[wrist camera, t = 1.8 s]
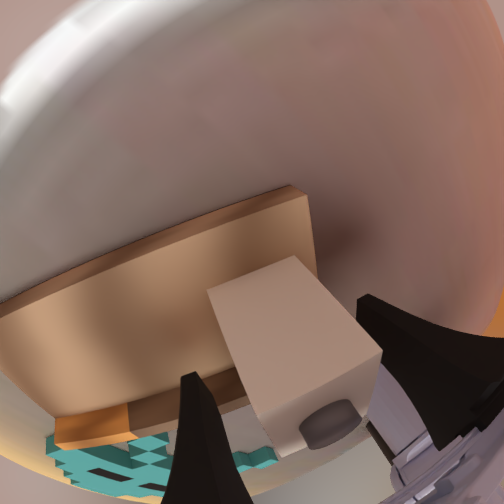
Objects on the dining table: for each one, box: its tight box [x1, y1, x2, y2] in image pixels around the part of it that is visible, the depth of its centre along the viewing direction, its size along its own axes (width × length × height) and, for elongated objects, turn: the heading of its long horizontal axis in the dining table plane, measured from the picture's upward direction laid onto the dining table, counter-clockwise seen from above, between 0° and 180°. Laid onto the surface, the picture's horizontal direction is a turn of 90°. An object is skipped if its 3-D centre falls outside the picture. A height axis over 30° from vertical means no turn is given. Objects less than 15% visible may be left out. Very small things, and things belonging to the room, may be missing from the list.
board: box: [0, 185, 318, 450], centre depth 12 cm, size 18×9×4 cm, turn 103°
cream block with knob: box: [207, 255, 383, 457], centre depth 10 cm, size 4×5×7 cm
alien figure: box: [46, 432, 278, 498], centre depth 20 cm, size 20×2×20 cm
